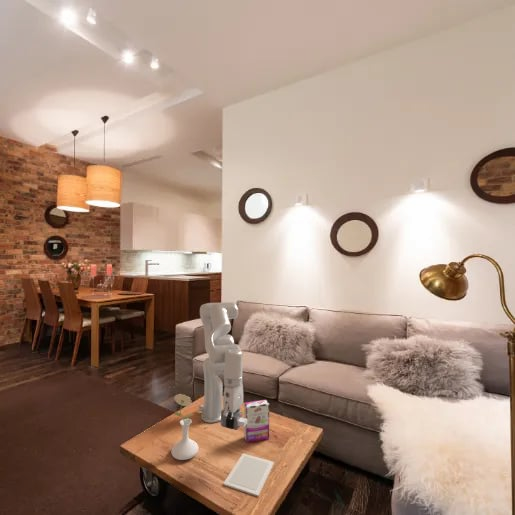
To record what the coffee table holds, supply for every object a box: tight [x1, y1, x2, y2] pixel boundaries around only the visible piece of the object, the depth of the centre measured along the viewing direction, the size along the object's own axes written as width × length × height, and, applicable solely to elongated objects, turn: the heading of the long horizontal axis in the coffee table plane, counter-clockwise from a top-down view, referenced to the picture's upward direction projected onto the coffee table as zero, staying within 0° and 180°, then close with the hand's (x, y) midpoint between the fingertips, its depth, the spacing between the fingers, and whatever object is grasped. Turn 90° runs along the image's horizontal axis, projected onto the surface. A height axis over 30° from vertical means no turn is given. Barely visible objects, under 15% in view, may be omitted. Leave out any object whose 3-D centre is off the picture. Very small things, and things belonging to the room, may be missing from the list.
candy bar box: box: [243, 399, 270, 444], centre depth 136 cm, size 11×5×16 cm, turn 105°
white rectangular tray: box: [222, 453, 275, 497], centre depth 113 cm, size 14×18×1 cm
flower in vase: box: [171, 393, 200, 461], centre depth 124 cm, size 13×11×25 cm
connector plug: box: [220, 409, 247, 431], centre depth 119 cm, size 11×4×5 cm, turn 68°
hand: (232, 424), depth 119 cm, fingers closed on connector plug, 4 cm apart
